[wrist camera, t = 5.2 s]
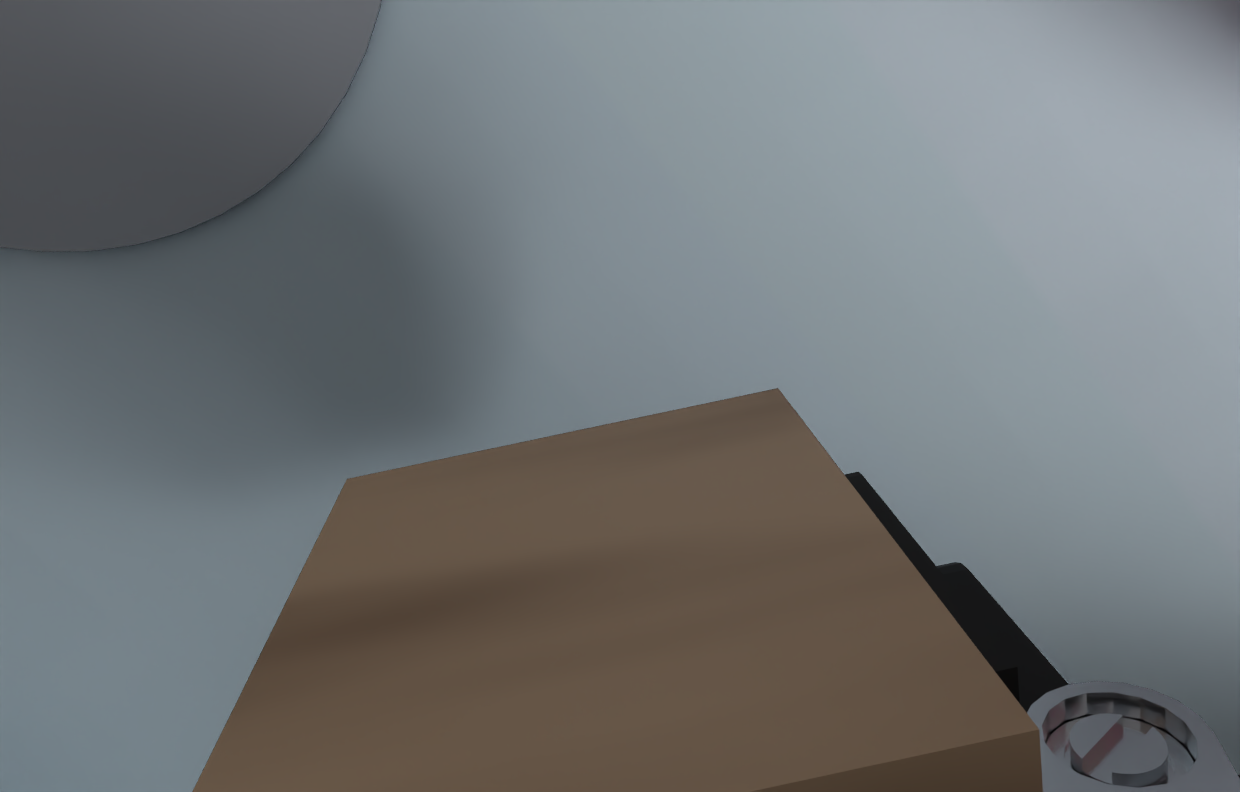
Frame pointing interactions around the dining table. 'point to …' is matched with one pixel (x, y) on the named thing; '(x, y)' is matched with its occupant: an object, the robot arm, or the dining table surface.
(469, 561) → the walnut block
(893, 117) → the dining table surface
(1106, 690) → the robot arm
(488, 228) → the dining table surface
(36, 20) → the disc
